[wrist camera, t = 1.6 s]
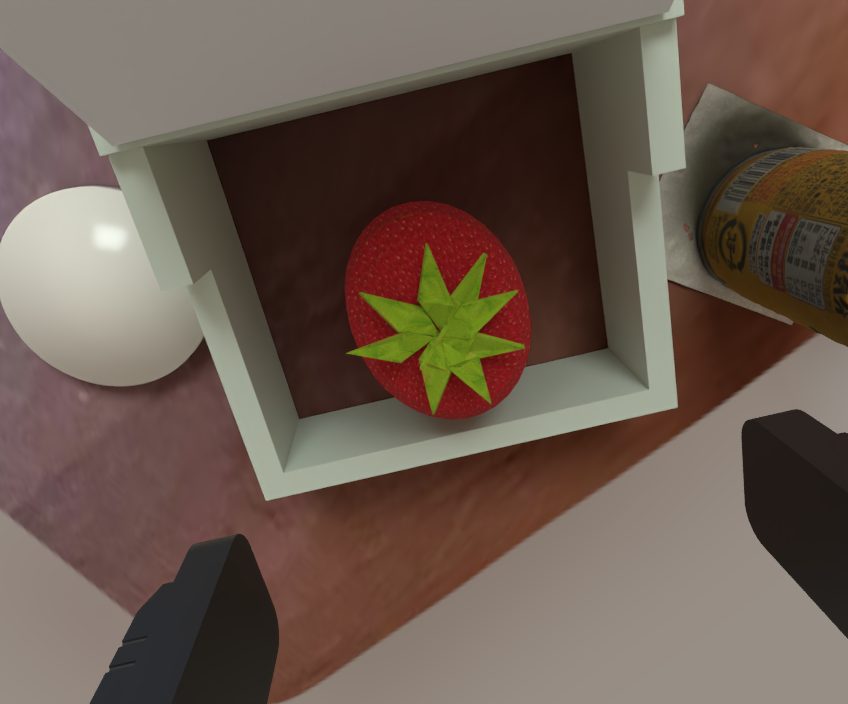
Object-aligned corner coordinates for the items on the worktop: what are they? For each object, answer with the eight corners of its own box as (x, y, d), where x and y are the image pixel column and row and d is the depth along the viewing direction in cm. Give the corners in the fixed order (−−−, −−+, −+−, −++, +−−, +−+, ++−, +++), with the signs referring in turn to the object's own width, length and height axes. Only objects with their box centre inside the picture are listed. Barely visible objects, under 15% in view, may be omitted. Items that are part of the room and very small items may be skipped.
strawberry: (400, 380, 27) (408, 516, 18) (322, 221, 24) (283, 281, 15) (526, 326, 26) (603, 437, 17) (459, 158, 24) (507, 180, 14)
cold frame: (108, -62, 21) (-981, -794, 4) (573, -178, 20) (1381, -1475, 4) (284, 443, 28) (135, 914, 11) (632, 363, 27) (1009, 728, 11)
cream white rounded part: (-30, 212, 23) (-43, 214, 23) (172, 163, 23) (165, 164, 23) (60, 397, 26) (50, 405, 26) (241, 355, 26) (236, 361, 25)
